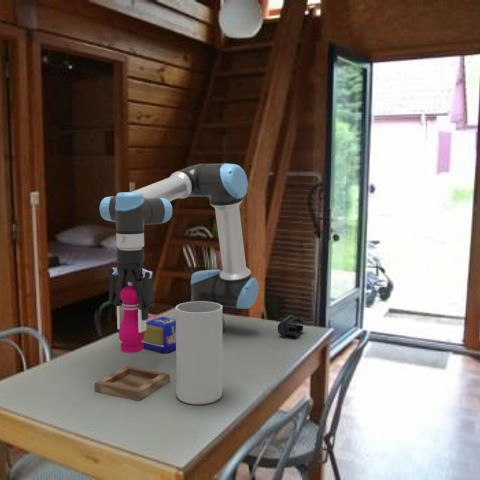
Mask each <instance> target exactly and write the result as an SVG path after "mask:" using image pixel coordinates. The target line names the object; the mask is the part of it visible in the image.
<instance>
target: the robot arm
mask: <svg viewBox="0 0 480 480" xmlns="http://www.w3.org/2000/svg"><path fill="white" fill-rule="evenodd" d="M248 182H249V181H248V176H247V174H246V172H245V170H244V169H243V168H242V167H241V166H240V165H238V164H235V163H228V162H227V163H197V164H193V165H190V166H188V167H186V168H185V167H184V168H183V169H181V170H177V171H175V172H173V173H171V174H170V176H169V177H167V178H164V179H162V180H159V181H156V182H154V183H151V184H149V185H146V186H144V187H141V188H138V189H136V190H133V191H127V192H124V191H123V192H118V193H117V194H116V196H115V195H114V196H113V195H112V196H106V197H104V198H102V200H101V201H100V204H99V213H100V217H101V218H102V219H103V220H104V221H109V222H112V223H115V229H116V230H115V232H116V233H115V234H116V235H115V236H116V241H115V242H116V244H115V245H116V247H117V250H116V263H117V265H116V267H110V268H108V275H109V287H108V289H109V290H108V302H109V303H110V304H113V305H114V315H115V317H116V318H117V319H116V320H117V321H116V322H117V323H116V324H117V328H116V329H117V330H118V329H120V327H121V325H122V322H123V319H124V309H123V308H122V307H123V305H122V303H123V301H122V300H121V298H120V293H121V290H122V289H123V288H124V287H126V286H129V285H128V281H129V282H132V284H133V286H134V287H135V290H136V294H137V297H138V301H139V304H140V308H139V309H138V332H143V331H145V330H146V320H147V319H148V314H149V308H151V307H154V306H155V304H156V303H155V295H154V283H153V282H154V281H153V278H154V274H155V273H154V271H153V270H147V269H146V268H145V266H144V262H145V249H144V247H145V226H147V225H148V226H149V225H161V224H164V223H168V221H169V220H171V218H172V216H173V206H172V204H171V202H172V201H174V200H176V199H181V200H182V199H186V198H189V197H203V198H208V199H209V205H210V206H211V207H213V209H215V218H216V219H215V220H216V227H217V234H218V235H217V236H218V242H219V243H218V244H219V250H220V259H221V265H222V270H221V269H217V268H216V269H215V268H213V269H205V270H198V271H194V273H192V274H191V281H190V287H191V288H190V291H191V294H190V295H191V297H190V298H191V300H190V302H196V301H204V302H214V303H218V304H220V305H222V307H228V308H233V309H234V308H235V309H242V310H243V309H245V310H246V309H249V308H251V307H253V306H254V304H255V302H256V300H257V298H258V294H259V291H260V290H259V288H260V287H259V286H260V285H259V281H258V280H257V278H255V277H252V272H251V269H249V268H248V267H247V265H246V264H247V262H246V256H245V246H244V245H245V244H244V239H243V238H244V237H243V228H242V220H241V211H240V205H241V204H242V203H243V199H244V197H245V196H246V194H247V192H248V187H249V185H248V184H249V183H248ZM119 275H120V276H119ZM226 322H227V321H226V320H225V316H224V314H223V312H222V333H224V332H225V331H226V329H227V323H226Z"/></svg>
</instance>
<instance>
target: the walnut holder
mask: <svg viewBox="0 0 480 480" xmlns="http://www.w3.org/2000/svg"><path fill="white" fill-rule="evenodd" d="M170 376H171V374H170V373H169V372H164V371H158V370H153V369H148V368H141V367H136V366H132V365H125V366H124V367H121V368H119V369H118V370H115V371H114V372H113V373H111V374H109V375H107V376H105V377H103V378H101V379H99V380H97V381H96V382H94V392H95V393H101V394H105V395H109V396H115V397H119V398H123V399H129V400H133V401H137V402H140V401H142V400H143V399H145V398H146V397H148V396H150V395H151V394H154V392H156V391H158V390H160V389H161V388H163V387H164V386H165V385H167V384H168V383H170V381H171V380H170V379H171V378H170Z"/></svg>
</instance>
